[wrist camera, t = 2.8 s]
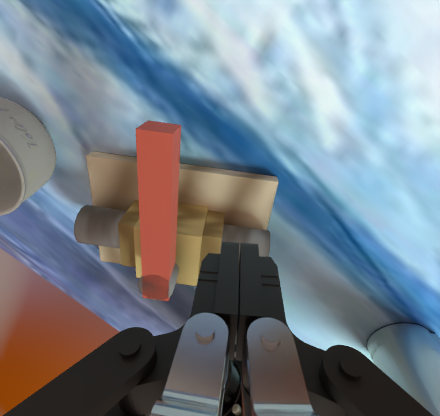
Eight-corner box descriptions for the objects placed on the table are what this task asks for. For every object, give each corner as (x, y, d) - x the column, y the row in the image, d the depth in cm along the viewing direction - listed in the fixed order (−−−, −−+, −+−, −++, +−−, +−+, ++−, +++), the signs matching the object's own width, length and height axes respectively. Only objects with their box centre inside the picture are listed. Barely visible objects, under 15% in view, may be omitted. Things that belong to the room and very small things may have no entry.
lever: (178, 282, 27) (172, 302, 25) (147, 278, 27) (138, 297, 25) (186, 125, 19) (179, 134, 17) (142, 119, 19) (129, 128, 17)
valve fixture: (276, 176, 30) (288, 219, 22) (253, 274, 38) (255, 332, 30) (92, 151, 30) (40, 184, 23) (105, 253, 38) (69, 305, 30)
